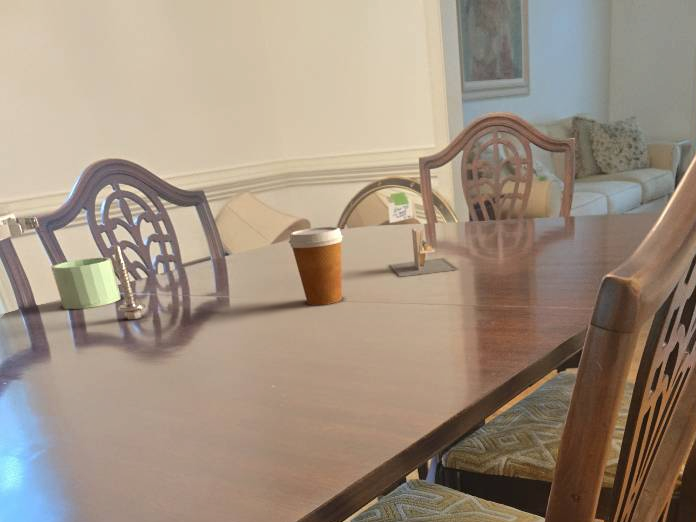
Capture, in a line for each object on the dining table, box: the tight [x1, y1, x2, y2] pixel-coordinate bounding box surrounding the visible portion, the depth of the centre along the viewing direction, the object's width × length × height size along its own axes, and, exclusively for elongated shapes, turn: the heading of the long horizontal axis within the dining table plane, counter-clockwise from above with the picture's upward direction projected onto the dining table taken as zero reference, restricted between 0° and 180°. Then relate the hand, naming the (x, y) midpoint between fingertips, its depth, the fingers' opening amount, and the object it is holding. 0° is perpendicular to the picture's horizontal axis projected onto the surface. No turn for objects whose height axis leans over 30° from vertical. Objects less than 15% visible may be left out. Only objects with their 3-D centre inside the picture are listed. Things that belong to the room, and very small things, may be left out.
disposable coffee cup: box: [288, 226, 343, 306], centre depth 137 cm, size 10×10×12 cm
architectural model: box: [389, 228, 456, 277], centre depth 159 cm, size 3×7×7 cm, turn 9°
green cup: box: [50, 256, 122, 310], centre depth 159 cm, size 12×12×8 cm
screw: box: [112, 243, 146, 321], centre depth 139 cm, size 13×5×5 cm
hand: (29, 225), depth 133 cm, fingers open, 8 cm apart
